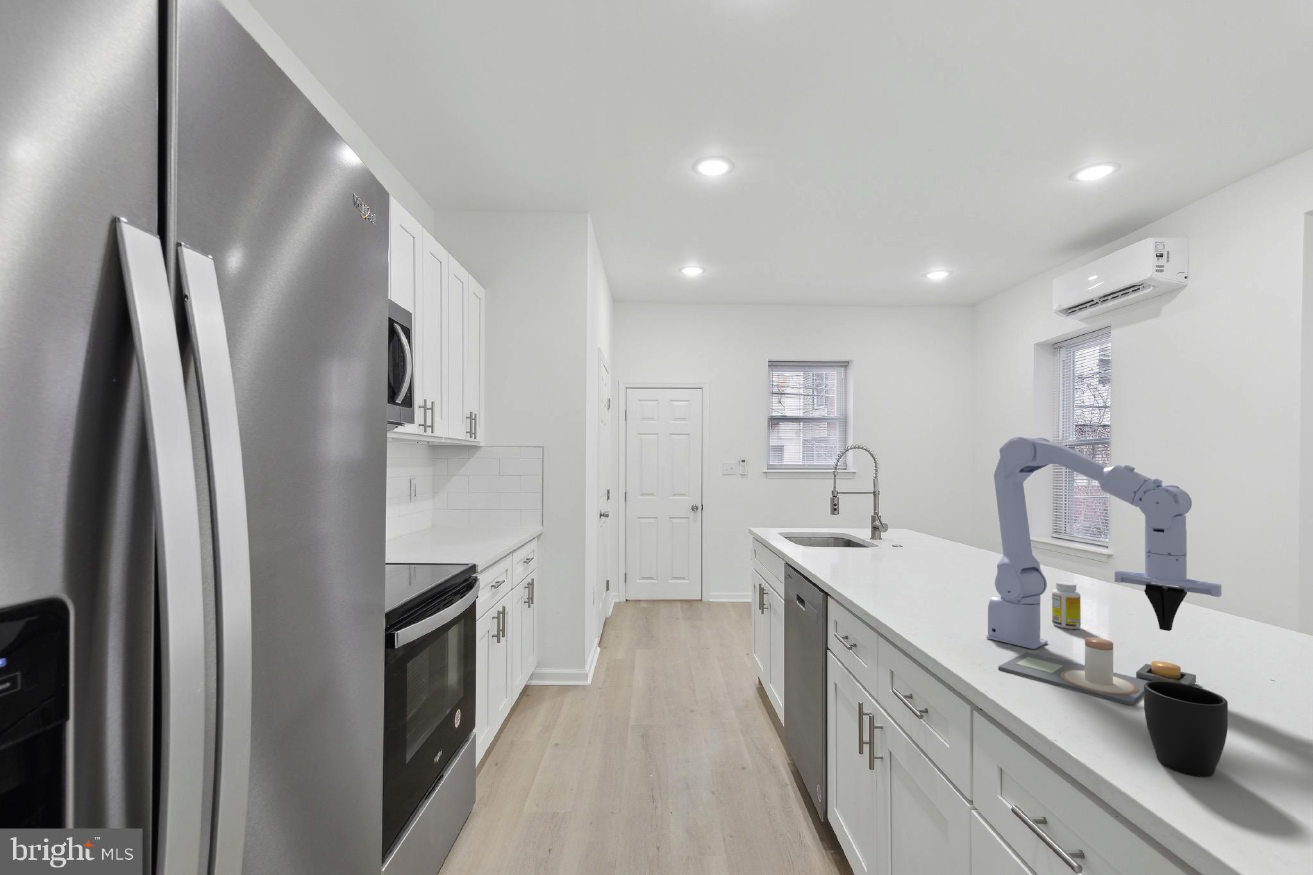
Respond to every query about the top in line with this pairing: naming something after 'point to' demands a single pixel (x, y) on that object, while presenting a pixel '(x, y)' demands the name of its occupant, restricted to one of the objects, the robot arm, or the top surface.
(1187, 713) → the black oval cup
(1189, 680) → the button housing
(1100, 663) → the white and brown cylinder
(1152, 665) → the button
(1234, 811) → the top surface
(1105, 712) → the top surface
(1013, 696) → the top surface
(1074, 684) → the picture board
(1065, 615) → the supplement bottle
